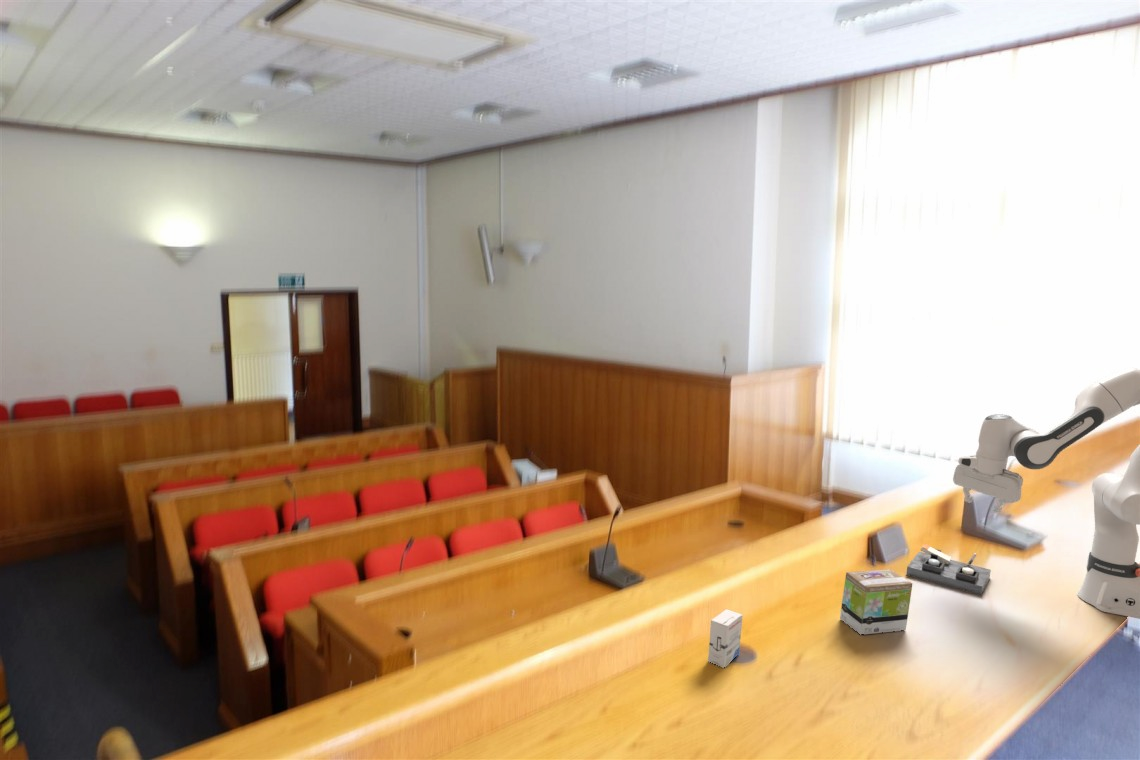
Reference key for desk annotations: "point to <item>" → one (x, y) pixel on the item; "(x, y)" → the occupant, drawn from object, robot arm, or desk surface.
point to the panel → (948, 573)
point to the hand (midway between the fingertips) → (982, 506)
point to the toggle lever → (971, 560)
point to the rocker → (936, 553)
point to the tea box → (876, 601)
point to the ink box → (725, 638)
